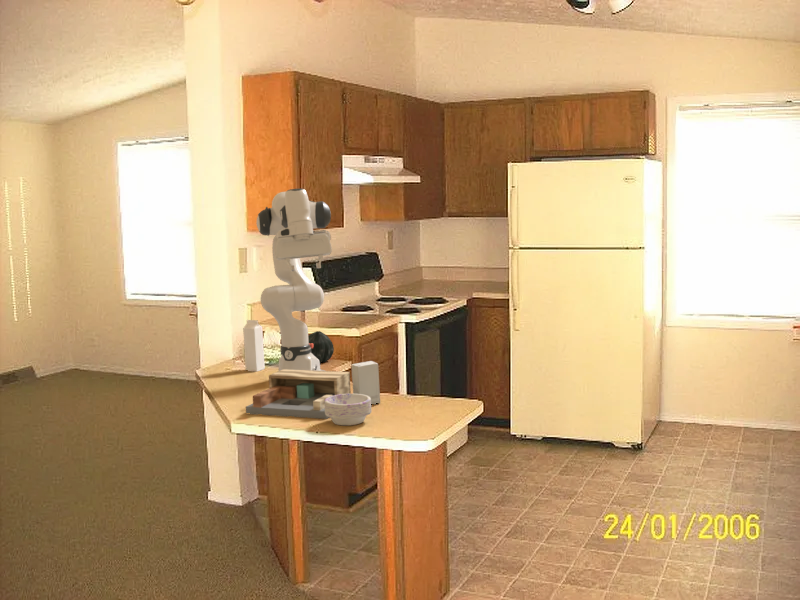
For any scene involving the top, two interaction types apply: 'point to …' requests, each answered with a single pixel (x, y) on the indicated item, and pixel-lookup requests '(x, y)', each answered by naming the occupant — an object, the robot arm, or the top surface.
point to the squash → (321, 346)
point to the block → (305, 390)
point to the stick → (320, 402)
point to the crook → (273, 395)
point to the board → (291, 407)
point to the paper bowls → (348, 408)
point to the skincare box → (366, 380)
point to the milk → (253, 346)
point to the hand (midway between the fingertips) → (305, 269)
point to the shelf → (313, 380)
